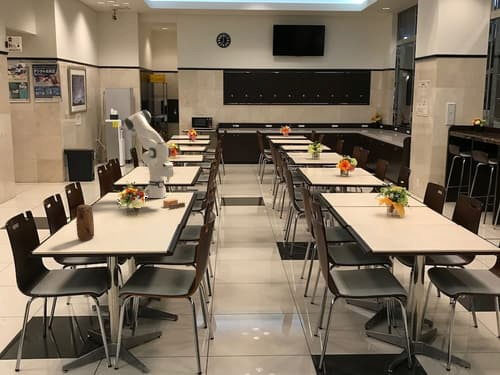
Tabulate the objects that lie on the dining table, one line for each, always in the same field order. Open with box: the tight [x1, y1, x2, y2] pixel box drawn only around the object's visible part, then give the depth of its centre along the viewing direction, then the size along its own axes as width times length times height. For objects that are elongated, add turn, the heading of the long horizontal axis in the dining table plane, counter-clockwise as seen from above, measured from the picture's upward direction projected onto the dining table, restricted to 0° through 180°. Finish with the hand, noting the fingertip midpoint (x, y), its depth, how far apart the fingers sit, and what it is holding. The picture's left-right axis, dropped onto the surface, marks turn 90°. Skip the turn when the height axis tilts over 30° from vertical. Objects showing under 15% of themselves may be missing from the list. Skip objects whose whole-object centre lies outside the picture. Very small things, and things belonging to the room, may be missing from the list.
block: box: [75, 204, 95, 242], centre depth 300 cm, size 11×8×20 cm
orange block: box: [162, 198, 179, 209], centre depth 391 cm, size 6×9×5 cm, turn 138°
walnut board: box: [168, 202, 186, 210], centre depth 385 cm, size 2×13×3 cm, turn 135°
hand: (163, 182), depth 394 cm, fingers open, 8 cm apart
